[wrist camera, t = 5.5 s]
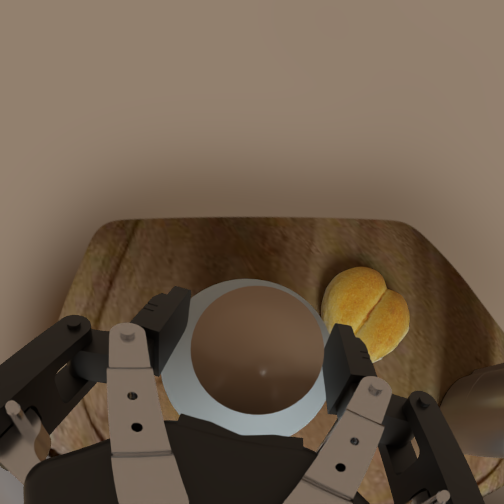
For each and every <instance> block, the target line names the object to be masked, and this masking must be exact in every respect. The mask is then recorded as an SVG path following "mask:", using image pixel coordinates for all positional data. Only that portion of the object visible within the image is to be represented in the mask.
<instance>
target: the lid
mask: <svg viewBox="0 0 504 504" xmlns="http://www.w3.org/2000/svg"><path fill="white" fill-rule="evenodd" d="M329 335H330V334H329V332H328V330H327V328H326V325H325V324H324V322H323V320H322V319H321V317H320V316H319V314H318V313H317V312H316V311H315V309H314V308H313V307H312V306H311V305H310V304H309V303H308V302H307V301H306V300H305V299H303V298H302V297H301V296H299V295H298V294H297V293H295V292H293V291H291V290H290V289H288V288H286V287H283V286H281V285H279V284H276V283H272V282H269V281H264V280H258V279H235V280H230V281H225V282H221V283H218V284H215V285H213V286H211V287H208V288H206V289H204V290H203V291H201V292H199V293H198V294H196V295H195V296H193V297H192V298H191V299H190V307H189V317H188V323H187V327H186V329H185V332H184V333H183V335H182V337H181V339H180V340H179V342H178V344H177V346H176V347H175V349H174V351H173V353H172V354H171V356H170V358H169V360H168V362H167V363H166V365H165V367H164V369H163V370H162V372H161V376H162V381H163V385H164V388H165V391H166V393H167V396H168V398H169V399H170V401H171V403H172V405H173V406H174V408H175V409H176V411H177V412H178V414H179V415H180V414H181V413H182V414H185V415H189V416H192V417H196V418H199V419H203V420H207V421H210V422H213V423H215V424H217V425H219V426H221V427H223V428H226V429H228V430H230V431H232V432H235V433H237V434H240V435H273V434H274V435H281V436H288V437H289V436H291V435H293V434H294V433H296V432H298V431H299V430H300V429H302V428H303V427H304V426H306V425H307V424H308V423H309V422H310V421H311V420H312V419H313V418H314V417H315V415H316V414H317V413H318V412H319V410H320V409H321V407H322V406H323V404H324V402H325V400H326V393H325V385H324V377H323V370H322V364H323V359H324V348H325V345H326V343H327V340H328V338H329Z"/></svg>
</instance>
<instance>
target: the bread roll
mask: <svg viewBox="0 0 504 504" xmlns="http://www.w3.org/2000/svg"><path fill="white" fill-rule="evenodd" d="M321 319H322V320H323V322H324V324H325V325H326V328H327V330H328V332H329V334H330V333H331V331H332V328H333V326H334V324H335V323H339V324H344V325H350V326H352V329H353V332H354V335H355V337H358V338H360V339H361V340H362V341H363V342H364V344H365V345H366V347H367V350H368V354H369V355H370V360H371V361H372V363H374V362H376V361H378V360H381V359H382V358H383V356H385V355H387V354H388V353H389V352H391V351H392V350H394V348H396V347H397V346H398V344H399V342H400V341H401V340H402V339H403V338H404V336H405V335H406V334H407V332H408V330H409V320H410V315H409V310H408V306H407V303H406V301H405V300H404V298H403V297H402V296H401V295H400V294H399V293H397V292H395V291H392V290H389V289H387V288H386V284H385V281H384V279H383V277H382V275H381V274H380V273H379V272H377V271H376V270H374V269H371V268H368V267H354V268H351V269H348V270H345V271H343V272H341V273H339V274H338V275H336V276H335V277H334V278H333V280H332V281H331V282H330V283H329V285H328V286H327V288H326V290H325V293H324V297H323V300H322V305H321Z"/></svg>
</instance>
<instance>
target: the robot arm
mask: <svg viewBox="0 0 504 504" xmlns="http://www.w3.org/2000/svg"><path fill="white" fill-rule="evenodd" d="M190 298H191V290H188V289H185V288H181V287H177V286H174V287H173V288H172V290H171V291H170V292H169V293H168V294H167V295H166V294H163V293H161V294H159V295H156V296H154V297H153V298H152V299H151V300H150V301H149V302H148V304H146V305H145V306H144V308H142V310H141V311H140V312H139V313H138V314H137V315H136V316H135V317H134V318H133V320H132V321H131V322H130V323H120V324H117V325H115V326H113V327H112V328H111V330H110V331H100V330H94V329H91V324H90V321H89V320H88V319H87V318H85V317H83V316H79V315H70V316H66V317H64V318H62V319H61V320H60V321H58V322H57V323H55V324H54V325H53V326H51V327H50V328H48V329H47V330H46V331H44V332H43V333H42V334H40V335H39V336H38V337H36V338H35V339H34V340H32V341H31V342H30V343H28V344H27V345H26V346H24V347H23V348H22V349H20V350H19V351H18V352H16V353H15V354H14V355H13V356H11V357H10V358H9V359H7V360H6V361H5V362H4V363H2V364H1V365H0V466H1V467H2V468H3V469H5V470H7V471H10V472H11V473H12V474H13V475H14V476H15V477H16V478H17V479H18V480H19V481H20V482H21V483H22V484H23V485H24V504H370V503H369V502H368V501H366V500H365V499H364V498H363V497H362V496H361V495H360V494H359V493H358V492H357V490H358V488H359V486H360V484H361V482H362V480H363V478H364V475H365V473H366V471H367V469H368V467H369V465H370V462H371V460H372V458H373V455H374V453H375V451H376V448H377V446H378V448H379V451H380V454H381V458H382V461H383V464H384V468H385V471H386V475H387V478H388V482H389V485H390V489H391V493H392V496H393V500H394V504H485V503H484V501H483V498H482V495H481V493H480V490H479V488H478V486H477V483H476V481H475V479H474V476H473V474H472V472H471V470H470V468H469V465H468V463H467V461H466V459H465V457H464V455H463V454H466V455H473V456H482V457H494V458H504V363H501V364H497V365H493V366H489V367H485V368H481V369H476V370H474V371H473V373H472V374H471V375H469V376H465V377H462V378H461V379H459V380H457V381H456V382H455V383H454V384H453V385H452V386H451V388H450V389H449V390H448V392H447V393H446V395H445V397H444V399H443V401H442V403H441V406H440V408H439V406H438V405H437V403H436V401H435V400H434V398H433V397H432V396H431V395H429V394H427V393H425V392H423V391H415V392H413V393H411V395H410V396H409V397H408V399H407V398H403V397H400V396H397V395H394V394H392V390H391V387H390V386H389V384H388V383H387V382H385V381H384V380H383V379H381V378H378V377H377V375H376V372H375V369H374V366H373V363H372V361H371V360H370V355H369V354H368V350H367V347H366V345H365V344H364V342H363V341H362V340H361V339H360V338H358V337H355V335H354V332H353V329H352V326H350V325H344V324H339V323H335V324H334V326H333V328H332V331H331V333H330V335H329V338H328V340H327V343H326V345H325V348H324V359H323V364H322V370H323V377H324V385H325V393H326V401H327V410H328V414H334V415H337V417H338V419H337V420H336V422H335V423H334V425H333V426H332V428H331V429H330V431H329V433H328V434H327V436H326V437H325V439H324V440H323V442H322V443H321V445H320V446H319V448H318V449H317V451H316V452H314V451H313V450H310V449H308V448H305V447H303V438H296V437H288V436H281V435H274V434H273V435H240V434H237V433H235V432H232V431H230V430H228V429H226V428H223V427H221V426H219V425H217V424H215V423H213V422H210V421H207V420H203V419H199V418H196V417H192V416H189V415H185V414H182V413H181V414H180V417H179V419H178V421H167V420H166V421H164V420H163V416H162V412H161V407H160V403H159V398H158V393H157V388H156V383H155V378H154V375H155V376H158V377H159V376H160V374H161V372H162V370H163V369H164V367H165V365H166V363H167V362H168V360H169V358H170V356H171V354H172V353H173V351H174V349H175V347H176V346H177V344H178V342H179V340H180V339H181V337H182V335H183V333H184V332H185V329H186V327H187V323H188V317H189V307H190ZM66 363H67V365H66V366H65V367H64V368H63V369H61V370H60V371H59V372H58V370H59V369H60V368H62V367H63V366H64V365H65V364H66ZM57 372H58V373H57ZM56 373H57V374H56ZM97 382H101V383H107V402H108V419H109V431H110V439H107V440H104V441H102V442H99V443H96V444H93V445H90V446H87V447H85V448H82V449H79V450H75V451H72V452H69V453H66V454H63V455H59V456H56V457H52V458H49V459H46V457H47V456H48V452H49V450H50V447H51V438H50V436H49V435H50V434H51V433H52V432H53V431H54V430H55V428H56V427H57V426H58V425H59V424H60V423H61V422H62V421H63V419H64V418H65V417H66V416H67V415H68V414H69V413H70V412H71V410H72V409H73V408H74V407H75V406H76V405H77V404H78V403H79V402H80V400H81V399H82V398H83V397H84V396H85V395H86V394H87V393H88V392H89V391H90V389H91V388H92V387H93V386H94V385H95V384H96V383H97ZM414 437H415V439H416V441H417V444H418V446H419V449H420V454H419V457H418V459H417V457H416V454H415V451H414V449H413V446H412V444H411V440H412V439H413V438H414Z"/></svg>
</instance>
